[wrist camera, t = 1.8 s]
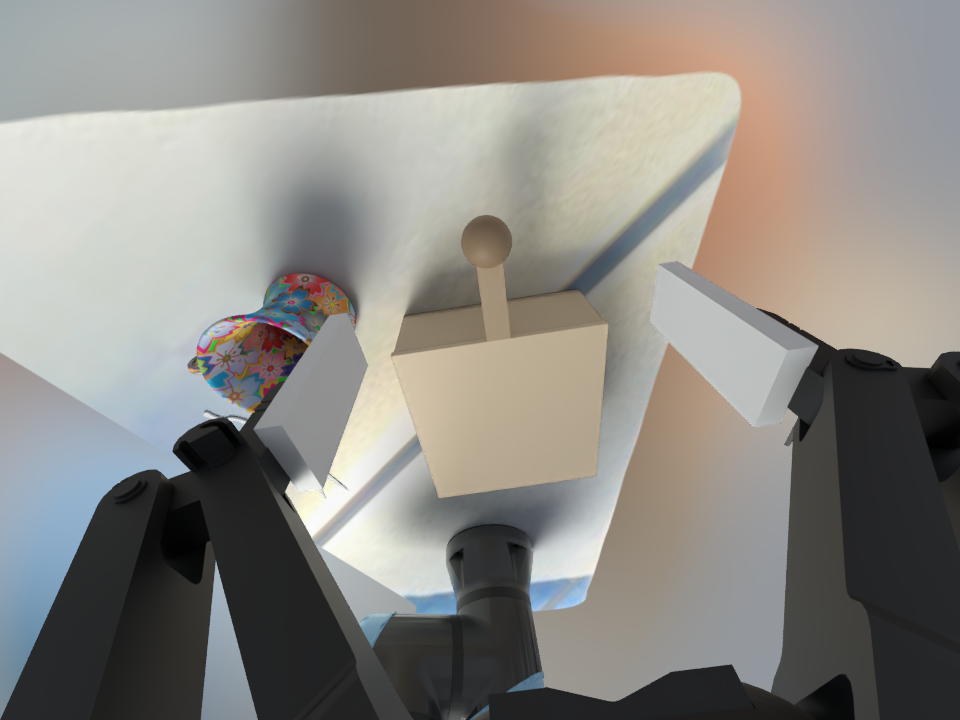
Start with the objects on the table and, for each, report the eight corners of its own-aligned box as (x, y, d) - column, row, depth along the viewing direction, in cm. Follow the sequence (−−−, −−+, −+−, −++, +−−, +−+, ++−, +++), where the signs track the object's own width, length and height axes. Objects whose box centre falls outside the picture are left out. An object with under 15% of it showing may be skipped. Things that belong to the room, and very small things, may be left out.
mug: (345, 260, 32) (304, 309, 23) (372, 345, 37) (347, 411, 28) (217, 275, 32) (126, 330, 23) (262, 358, 37) (202, 429, 28)
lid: (590, 461, 41) (600, 487, 38) (439, 483, 42) (438, 510, 39) (607, 190, 25) (628, 199, 22) (357, 230, 25) (344, 243, 22)
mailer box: (575, 428, 46) (592, 471, 40) (442, 447, 46) (440, 493, 41) (578, 288, 35) (603, 320, 29) (404, 315, 35) (394, 351, 29)
